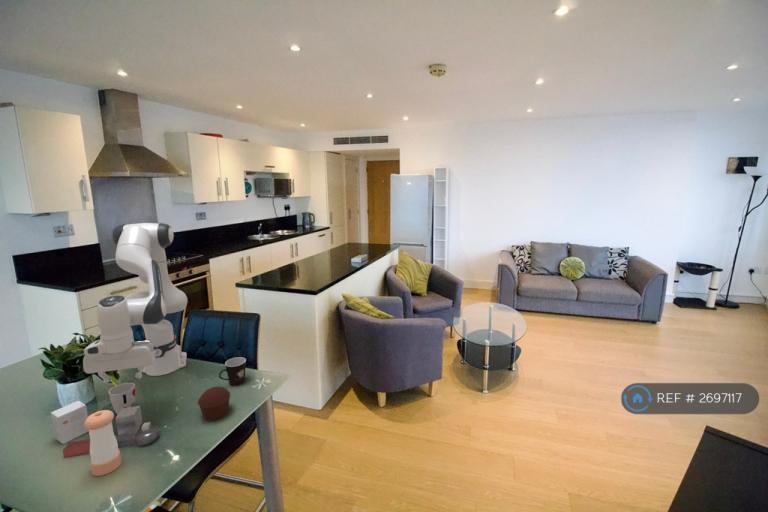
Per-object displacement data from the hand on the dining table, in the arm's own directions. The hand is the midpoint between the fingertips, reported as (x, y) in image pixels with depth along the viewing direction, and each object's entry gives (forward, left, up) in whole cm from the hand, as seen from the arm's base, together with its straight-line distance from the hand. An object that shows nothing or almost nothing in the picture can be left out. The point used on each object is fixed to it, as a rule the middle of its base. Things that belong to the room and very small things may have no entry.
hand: (123, 379), depth 119 cm
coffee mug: (-22, +32, -20) cm, 44 cm away
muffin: (-1, +28, -20) cm, 34 cm away
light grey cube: (0, 0, -20) cm, 20 cm away
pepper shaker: (+18, 0, -20) cm, 27 cm away
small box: (-2, -18, -20) cm, 27 cm away
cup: (-12, -6, -20) cm, 24 cm away
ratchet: (+8, -2, -19) cm, 21 cm away
